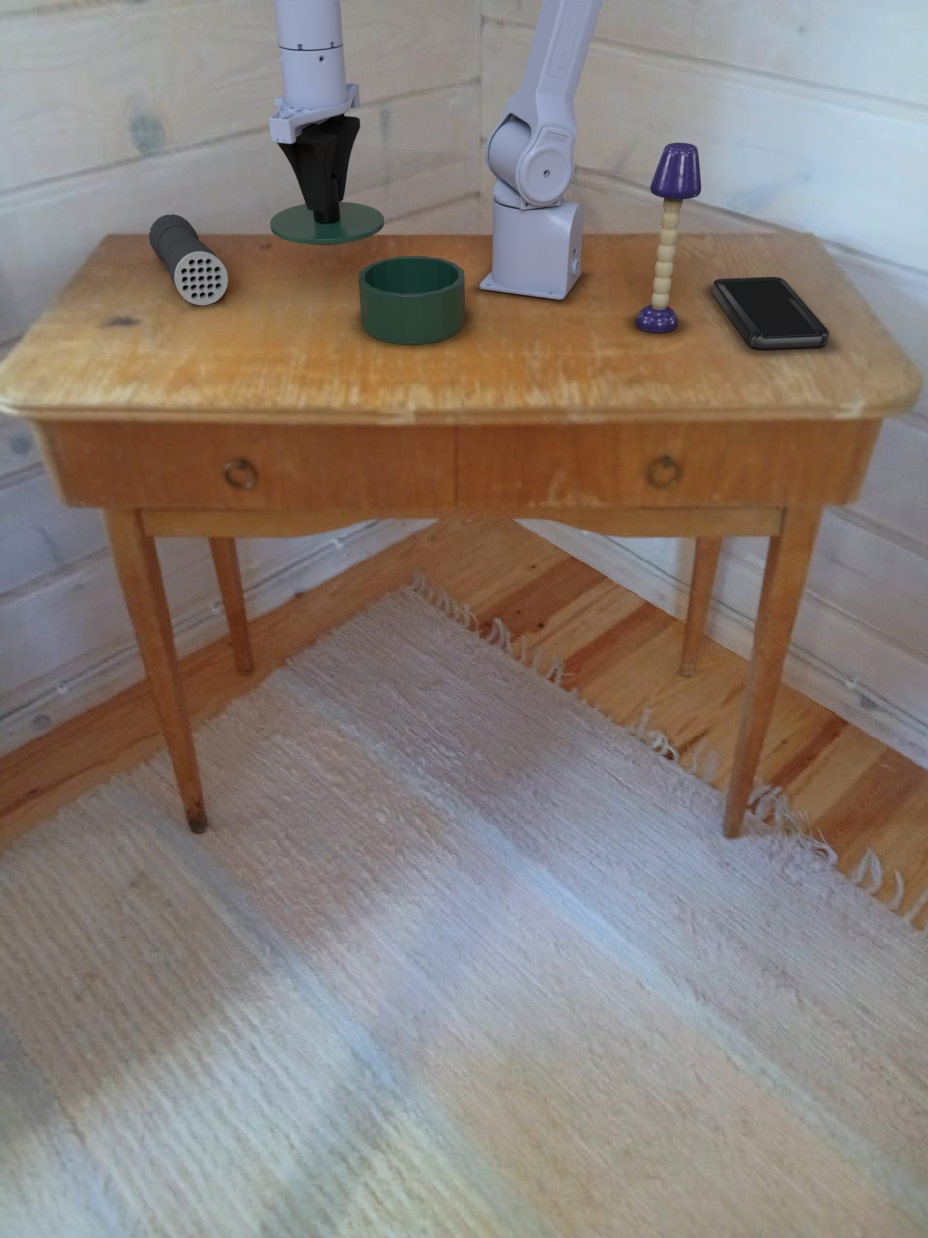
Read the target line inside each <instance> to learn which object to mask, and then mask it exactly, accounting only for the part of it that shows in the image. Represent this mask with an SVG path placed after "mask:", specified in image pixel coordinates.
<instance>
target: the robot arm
mask: <svg viewBox="0 0 928 1238" xmlns="http://www.w3.org/2000/svg"><path fill="white" fill-rule="evenodd" d="M272 1H273V2H272V4H273V10H274V19H275V20H274V21H275V29H276V38H277V44H278V46H277V47H278V54H279V63H280V72H281V80H282V90H283V91H282V92H283V94H280V95H278V96H276V97H274V98H273V105H274V107H275V108H278V109H277V110H276V112H275V114H273V115H272V116H270V117H269V118H268V124H269V125H268V126H269V133H270V141H271V143H276V144H277V145H278V147H279V149H280V150H281V151H282V153H283V154H284V156H285V157H286V159H287V161H288V163H289V164H290V166H291V169H292V171H293V173H294V175H295V178H296V180H297V183H298V186H299V189H300V191H301V194H302V197H303V200H304V202H305V203H304V204H306V206H307V208H308V210H313V211H321V212H327V211H328V210H329V209H330V202H331V174H335V175H336V176H337V184H338V196H339V202H343V201H344V197H345V193H346V186H347V177H348V171H349V164H350V159H351V154H352V151H353V148H354V144H355V142H356V139H357V137H358V133H359V131H360V129H361V119H360V117H357V116H350V115H345V114H346V113H347V112H349V111H350V110H351V108H352V109H356V108H359V107H360V106H361V100H360V87H359V86H360V85H359V83H353V82H347V77H346V62H345V49H344V47H345V46H344V38H343V24H342V10H341V0H272ZM542 1H543V2H542V3H541V4H542V5H541V8H540V12H539V16H538V19H537V22H536V27H535V30H534V33H533V34H534V35H533V38H532V42H531V45H530V49H529V53H528V57H527V61H526V65H525V68H524V71H523V76H522V80H521V83H520V85H519V87H518V88H517V89H516V90H515V92H514V93H512V95H510V97H509V98H508V99H507V101H506V102H505V105H504V110H503V112H502V115H501V118H500V120H498V123H497V124H496V125H495V127H494V128H493V129H492V130H491V132H490V133H489V135H488V138H487V140H486V145H485V152H484V153H485V160H486V164H487V166H488V169H489V171H490V172H491V173H492V175H494V176H495V185H494V188H493V190H492V243H491V244H492V248H491V250H492V251H491V254H492V255H491V271H490V272H489V273H488V274H487V275H486V277H484V279H482V281H481V282H480V283H479V289H480V290H485V291H493V292H497V293H498V292H500V293H506V294H514V295H520V296H529V297H534V298H535V297H536V298H544V299H549V300H550V299H551V300H558V301H562V300H564V299H565V298H566V297H567V295H568V294H569V293H570V291H571V289H572V288H573V287H574V286H575V284H576V282H578V280H579V278H580V277H581V276H582V270H581V265H582V263H581V262H582V252H583V251H582V250H583V238H584V237H583V236H584V223H585V213H584V205H582V203H579V202H575V201H570V200H568V199H566V198H565V197H563V196H564V195H565V194H566V193H567V191H568V190H569V189H570V187H571V185H572V182H573V179H574V175H575V167H576V166H575V157H574V151H575V144H576V140H577V138H578V137H577V136H578V126H577V121H576V116H575V115H576V114H575V111H574V106H573V104H574V99H575V95H576V92H577V89H578V86H579V82H580V78H581V75H582V71H583V68H584V65H585V62H586V58H587V56H588V52H589V49H590V46H591V42H592V38H593V35H594V31H595V28H596V25H597V22H598V18H599V14H600V11H601V8H602V4H603V1H604V0H542Z"/></svg>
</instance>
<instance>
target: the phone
mask: <svg viewBox="0 0 928 1238" xmlns="http://www.w3.org/2000/svg"><path fill="white" fill-rule="evenodd" d="M711 292H712V295H713V296H714V297H715V299H716V300H717V302H718V303H719V305H720V307H721V308H722V309H723V311H724V312H725V314H726V315H727V316H728V318H729V320H730V321H731V323H732V324H733V325H734V327H735V328H736V330H737V331H738V332H739V334H740V335H741V337H742V338H743V339H744V341H745V343H746V345H748V347H750V348H752V349H755V350H784V349H785V350H786V349H808V348H823V347H826V346H827V344H828V340H829V336H830V331H829V329H827V327H826V326H825V325H824V323H823V322H822V321H821V320H820V319H819V318H818V316H816V314H815V313H814V312H813V311H812V309H811V308H810V307H809V305H807V304H806V303H805V301H804V300H803V299H802V298H801V297H800V296H799V294H798V293H797V292H796V291H795V290H794V288H793V287H792V286H791V285H790V284H789V283H788V281H787V280H786V279H784V278H782V277H777V276H756V277H731V278H729V277H728V278H727V277H726V278H717V279H715V280H714V281H713V285H712V291H711Z"/></svg>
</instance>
